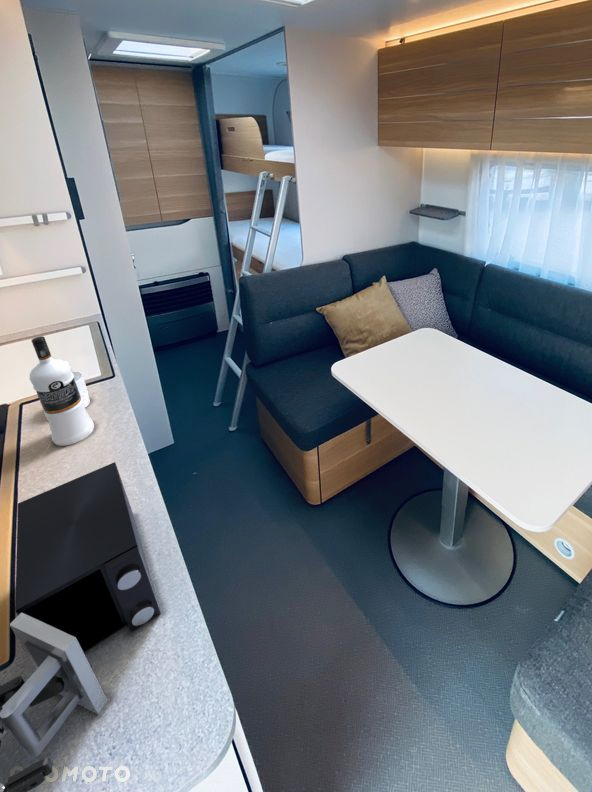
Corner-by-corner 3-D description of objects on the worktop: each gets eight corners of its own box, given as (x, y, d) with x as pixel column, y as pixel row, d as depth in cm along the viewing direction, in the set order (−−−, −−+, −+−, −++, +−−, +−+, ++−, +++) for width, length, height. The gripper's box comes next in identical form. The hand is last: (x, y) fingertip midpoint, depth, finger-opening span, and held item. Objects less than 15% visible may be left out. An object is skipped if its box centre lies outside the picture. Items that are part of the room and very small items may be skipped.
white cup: (82, 396, 126) (72, 368, 123) (98, 403, 123) (88, 375, 119) (54, 411, 120) (43, 383, 116) (70, 419, 117) (59, 390, 113)
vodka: (94, 419, 116) (61, 325, 105) (96, 438, 109) (60, 339, 98) (54, 432, 112) (14, 336, 100) (53, 453, 104) (10, 351, 93)
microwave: (162, 619, 69) (140, 556, 63) (53, 691, 60) (14, 626, 54) (134, 519, 87) (115, 461, 80) (47, 563, 78) (17, 503, 72)
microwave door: (54, 779, 52) (10, 715, 46) (0, 746, 55) (-49, 681, 49) (108, 701, 59) (76, 637, 53) (57, 676, 62) (21, 611, 56)
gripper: (-79, 750, 52) (74, 675, 59) (-145, 932, 40) (56, 812, 47) (-107, 719, 49) (57, 644, 56) (-186, 905, 37) (34, 782, 44)
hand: (56, 721), depth 51 cm, fingers open, 8 cm apart
